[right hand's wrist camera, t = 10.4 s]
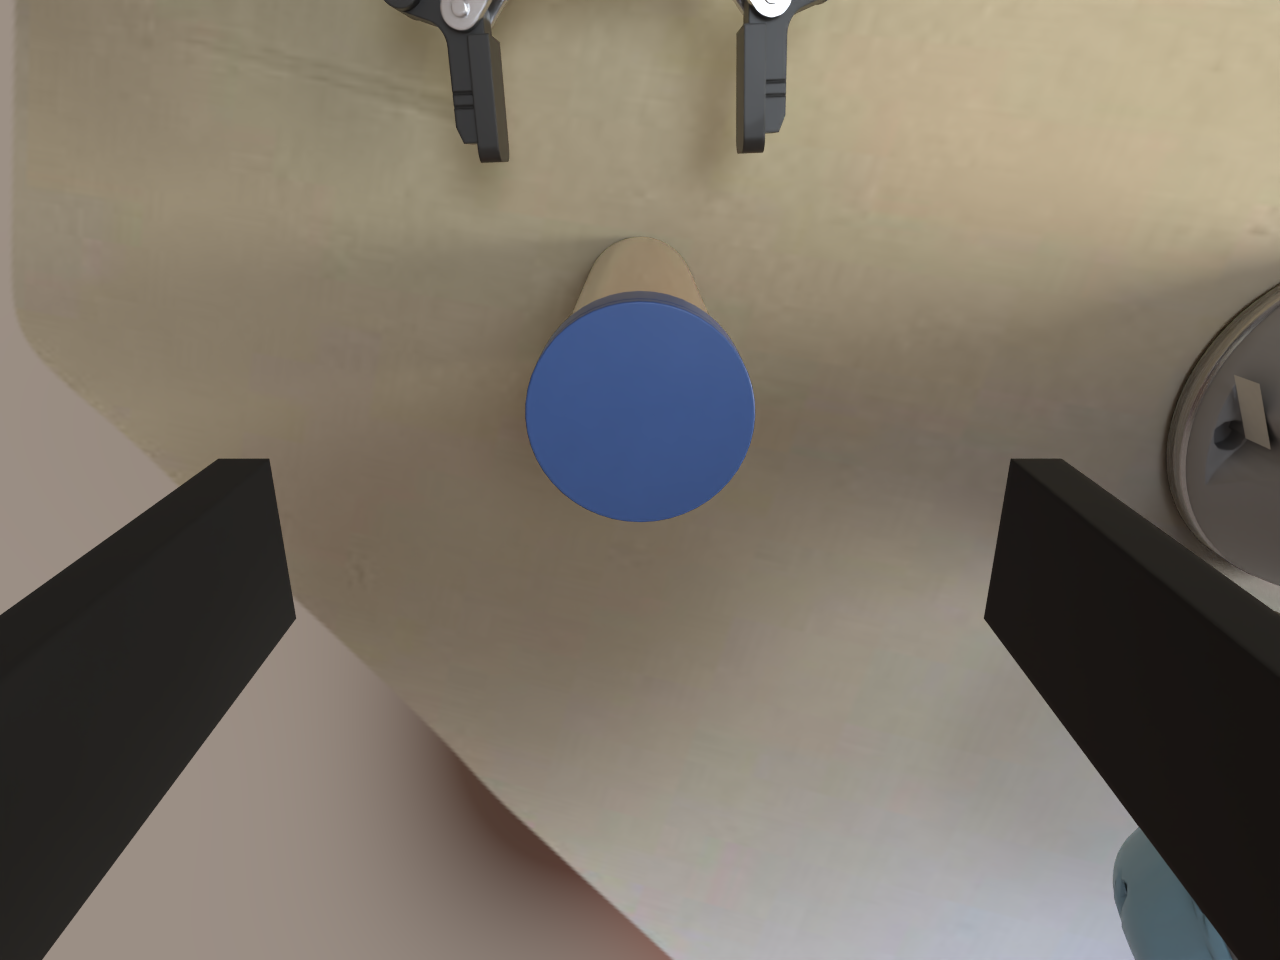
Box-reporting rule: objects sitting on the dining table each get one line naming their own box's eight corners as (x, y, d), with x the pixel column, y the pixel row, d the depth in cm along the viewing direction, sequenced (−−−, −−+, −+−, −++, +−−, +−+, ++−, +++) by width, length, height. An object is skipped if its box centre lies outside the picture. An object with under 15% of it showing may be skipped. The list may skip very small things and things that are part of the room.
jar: (581, 338, 37) (532, 493, 20) (592, 230, 36) (547, 298, 18) (685, 350, 37) (724, 514, 20) (700, 243, 36) (756, 323, 19)
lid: (525, 485, 21) (517, 510, 20) (541, 277, 19) (533, 287, 18) (729, 508, 21) (735, 533, 20) (763, 304, 20) (773, 316, 18)
